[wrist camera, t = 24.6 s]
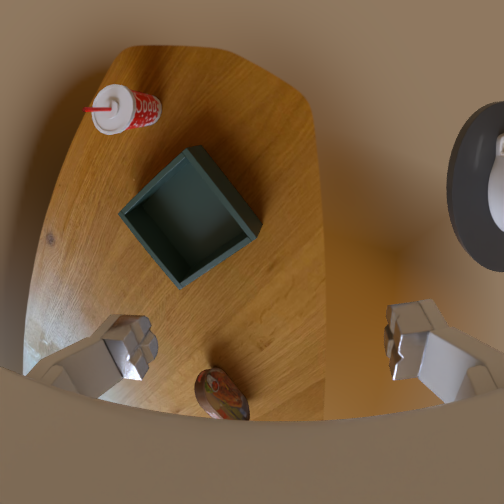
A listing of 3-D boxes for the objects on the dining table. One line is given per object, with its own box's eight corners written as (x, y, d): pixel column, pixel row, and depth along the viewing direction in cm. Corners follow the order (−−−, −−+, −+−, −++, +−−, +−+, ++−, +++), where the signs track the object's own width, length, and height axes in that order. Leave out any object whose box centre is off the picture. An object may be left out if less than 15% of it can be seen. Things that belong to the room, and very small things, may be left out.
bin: (201, 144, 38) (186, 147, 33) (262, 224, 41) (257, 238, 36) (136, 203, 43) (117, 213, 38) (191, 273, 46) (179, 290, 41)
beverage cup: (164, 132, 38) (104, 139, 25) (127, 130, 39) (62, 138, 26) (169, 90, 36) (110, 78, 23) (132, 89, 36) (67, 83, 23)
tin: (253, 406, 56) (246, 439, 49) (240, 409, 57) (232, 440, 50) (214, 357, 52) (201, 391, 45) (200, 361, 53) (186, 393, 46)
